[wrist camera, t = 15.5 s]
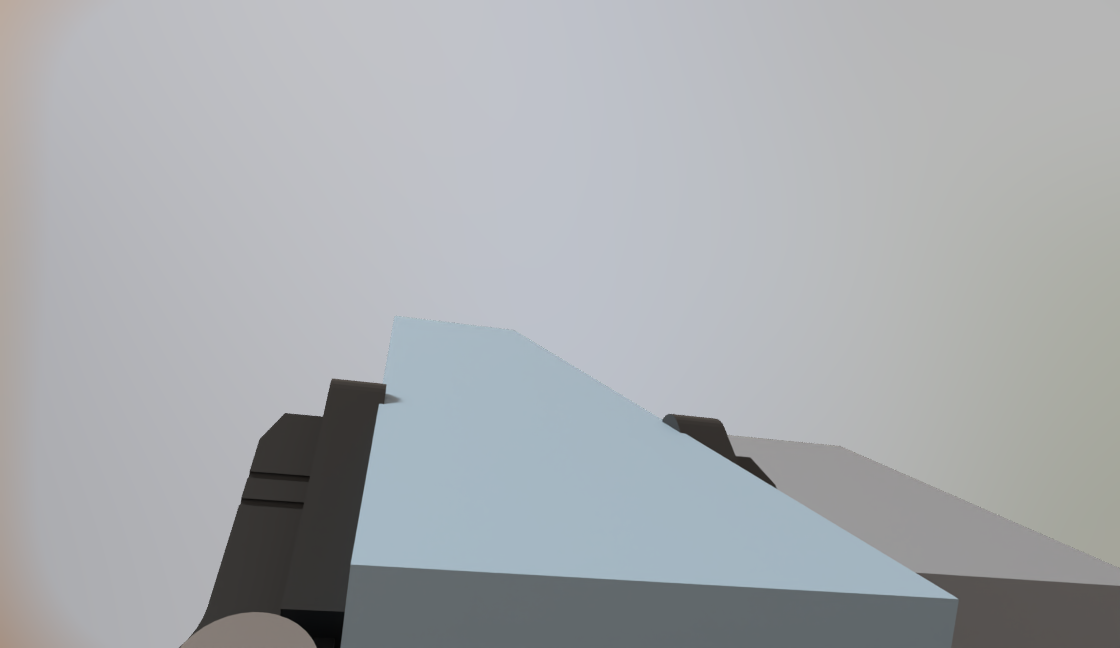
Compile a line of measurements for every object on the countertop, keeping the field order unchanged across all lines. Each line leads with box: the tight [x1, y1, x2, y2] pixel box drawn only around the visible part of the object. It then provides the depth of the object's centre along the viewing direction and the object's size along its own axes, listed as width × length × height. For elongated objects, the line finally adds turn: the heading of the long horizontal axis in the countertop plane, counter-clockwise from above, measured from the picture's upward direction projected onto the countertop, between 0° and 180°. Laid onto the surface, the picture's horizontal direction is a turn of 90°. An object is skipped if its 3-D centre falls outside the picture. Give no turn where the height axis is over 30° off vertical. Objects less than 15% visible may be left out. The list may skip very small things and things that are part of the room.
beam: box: [340, 316, 959, 648], centre depth 16 cm, size 4×22×4 cm, turn 11°
